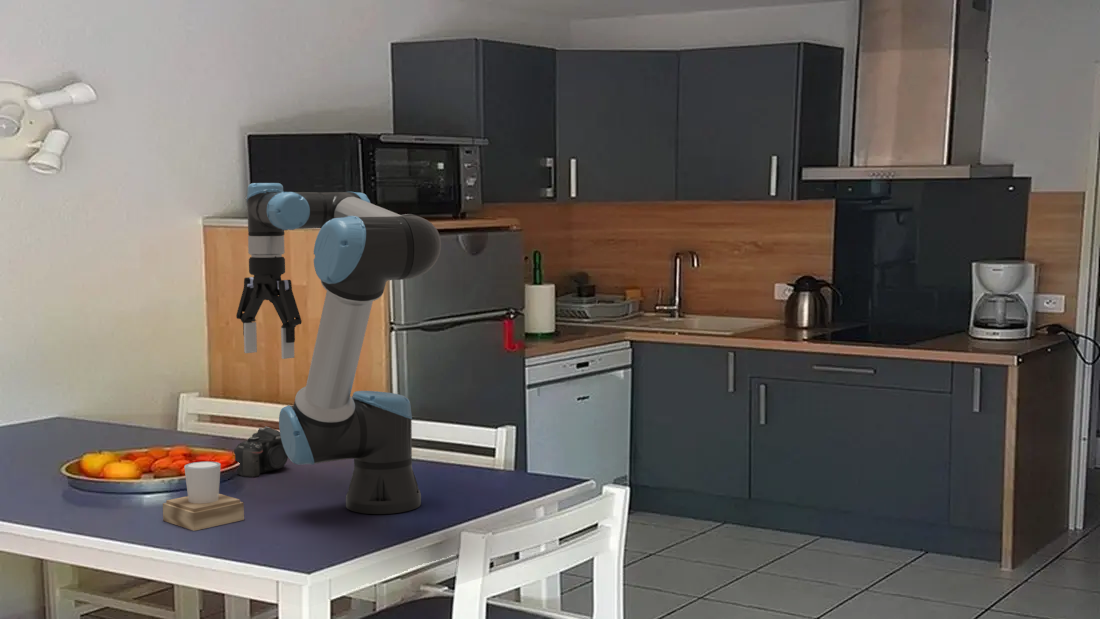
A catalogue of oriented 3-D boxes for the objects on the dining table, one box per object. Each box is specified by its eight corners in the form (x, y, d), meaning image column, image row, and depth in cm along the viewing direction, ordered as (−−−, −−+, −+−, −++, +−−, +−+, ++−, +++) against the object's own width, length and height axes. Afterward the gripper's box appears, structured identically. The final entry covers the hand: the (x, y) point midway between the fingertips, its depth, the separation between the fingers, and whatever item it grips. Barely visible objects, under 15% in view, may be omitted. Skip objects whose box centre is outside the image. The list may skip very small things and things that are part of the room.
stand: (244, 519, 247) (243, 499, 247) (194, 530, 239) (193, 510, 239) (212, 510, 254) (212, 490, 254) (163, 520, 246) (162, 500, 246)
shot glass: (177, 502, 244) (176, 466, 244) (200, 494, 251) (199, 459, 250) (207, 505, 242) (206, 469, 241) (229, 497, 248) (228, 462, 248)
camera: (271, 479, 282) (270, 434, 281) (230, 476, 285) (229, 432, 284) (297, 466, 295) (296, 424, 294) (258, 464, 297) (257, 422, 296)
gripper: (317, 257, 263) (319, 358, 265) (248, 253, 280) (250, 348, 282) (287, 258, 258) (289, 362, 260) (218, 254, 275) (221, 351, 277)
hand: (269, 355), depth 271 cm, fingers open, 13 cm apart
